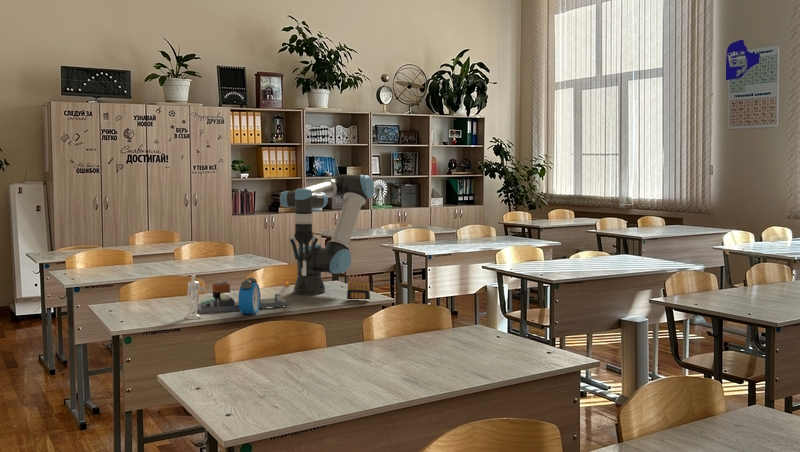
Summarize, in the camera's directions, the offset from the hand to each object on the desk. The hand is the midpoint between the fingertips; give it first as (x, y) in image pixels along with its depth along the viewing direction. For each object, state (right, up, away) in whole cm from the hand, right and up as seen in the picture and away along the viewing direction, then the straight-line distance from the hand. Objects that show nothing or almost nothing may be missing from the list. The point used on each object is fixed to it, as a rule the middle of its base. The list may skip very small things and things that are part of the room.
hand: (303, 275), depth 331 cm
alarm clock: (-21, -15, -19) cm, 32 cm away
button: (-32, -10, -12) cm, 36 cm away
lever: (-11, -11, -3) cm, 16 cm away
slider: (-20, -11, -4) cm, 23 cm away
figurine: (-41, -16, -26) cm, 52 cm away
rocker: (-39, -10, -14) cm, 43 cm away
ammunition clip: (+24, -13, +9) cm, 29 cm away
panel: (-25, -14, -8) cm, 30 cm away
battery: (-37, -13, +1) cm, 39 cm away
